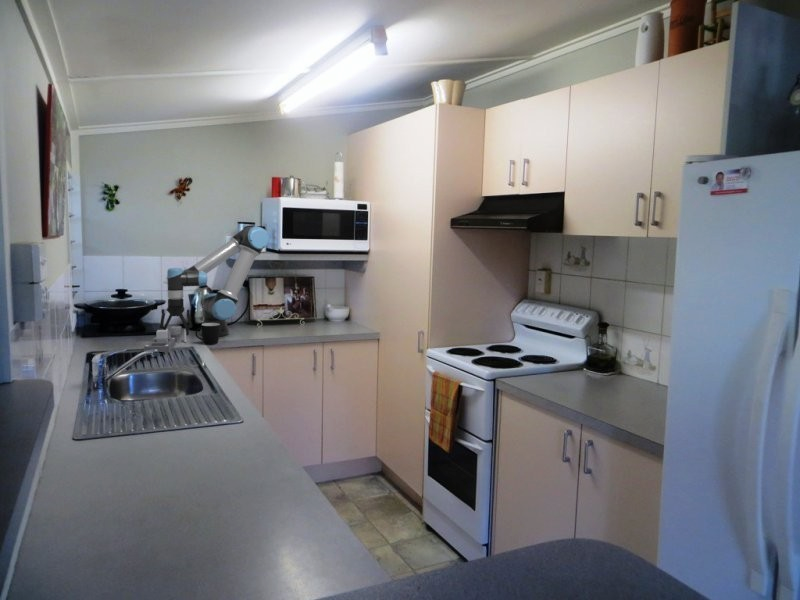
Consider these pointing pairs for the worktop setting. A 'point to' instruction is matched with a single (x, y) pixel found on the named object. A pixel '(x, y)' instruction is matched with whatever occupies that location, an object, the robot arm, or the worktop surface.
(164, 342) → the grey blocky piece
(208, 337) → the mug
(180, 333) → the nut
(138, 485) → the worktop surface
